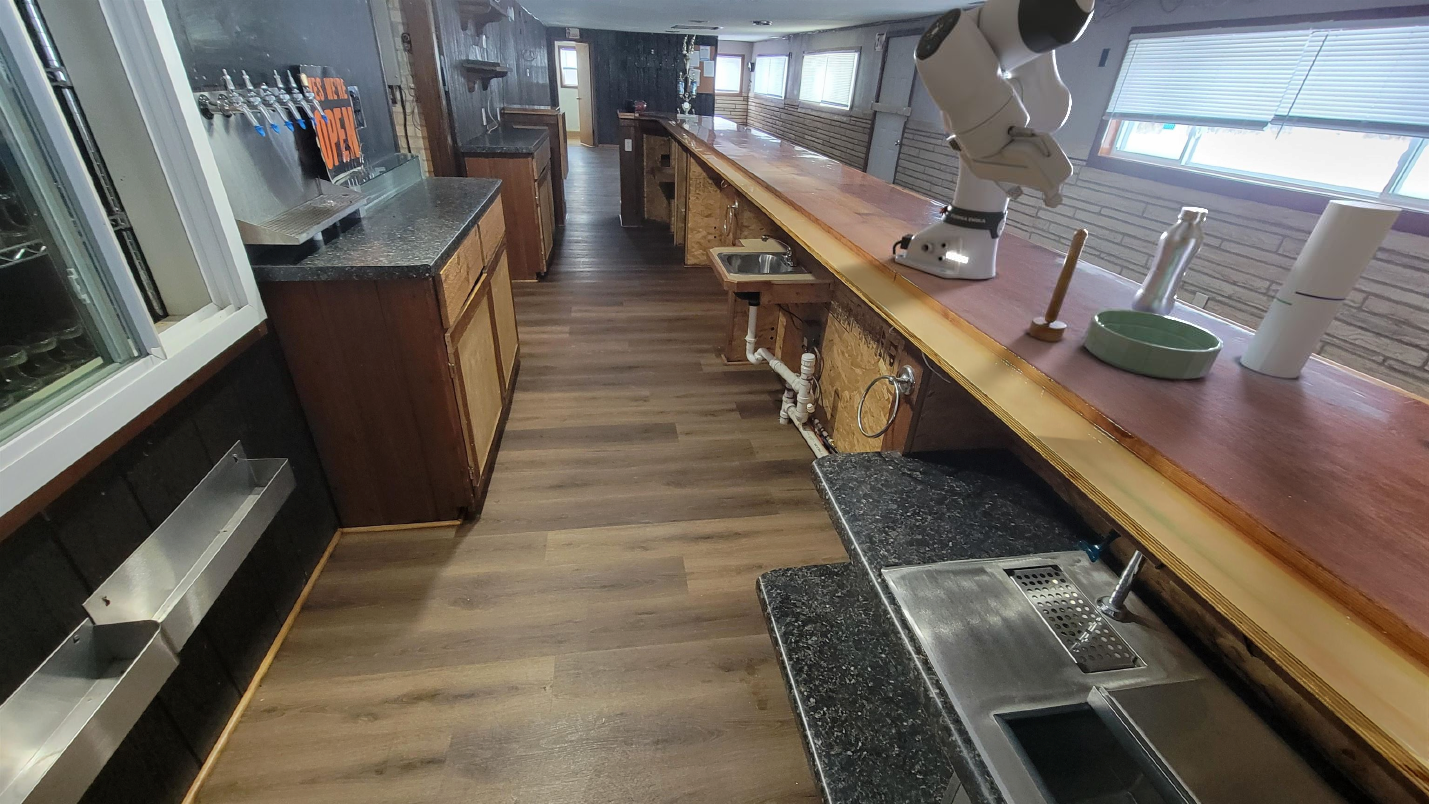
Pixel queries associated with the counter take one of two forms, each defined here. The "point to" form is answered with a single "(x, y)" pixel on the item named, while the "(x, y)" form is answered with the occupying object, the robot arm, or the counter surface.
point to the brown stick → (1059, 294)
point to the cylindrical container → (1318, 285)
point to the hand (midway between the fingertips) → (1035, 200)
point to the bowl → (1151, 344)
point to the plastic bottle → (1171, 263)
